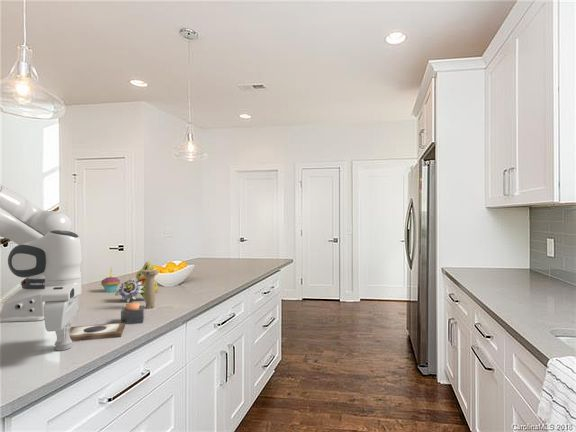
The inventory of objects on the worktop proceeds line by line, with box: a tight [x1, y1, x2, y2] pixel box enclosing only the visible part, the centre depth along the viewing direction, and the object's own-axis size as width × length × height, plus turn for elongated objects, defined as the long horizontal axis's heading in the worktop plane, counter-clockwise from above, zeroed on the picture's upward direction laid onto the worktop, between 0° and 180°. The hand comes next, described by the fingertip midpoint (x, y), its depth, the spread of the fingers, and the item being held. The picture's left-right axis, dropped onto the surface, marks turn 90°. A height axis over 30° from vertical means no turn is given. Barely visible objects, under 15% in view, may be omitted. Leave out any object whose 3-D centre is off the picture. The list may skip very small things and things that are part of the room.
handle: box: [142, 269, 159, 309], centre depth 153 cm, size 5×6×15 cm
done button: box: [125, 302, 140, 310], centre depth 132 cm, size 4×4×3 cm
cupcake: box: [100, 266, 121, 293], centre depth 187 cm, size 9×8×12 cm
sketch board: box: [69, 322, 126, 342], centre depth 118 cm, size 16×12×2 cm
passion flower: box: [114, 277, 145, 304], centre depth 167 cm, size 11×11×12 cm
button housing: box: [120, 305, 145, 325], centre depth 132 cm, size 7×7×4 cm
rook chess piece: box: [53, 322, 73, 352], centre depth 104 cm, size 4×4×8 cm
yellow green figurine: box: [135, 261, 159, 293], centre depth 184 cm, size 7×11×15 cm, turn 86°
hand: (63, 338), depth 104 cm, fingers closed on rook chess piece, 3 cm apart
